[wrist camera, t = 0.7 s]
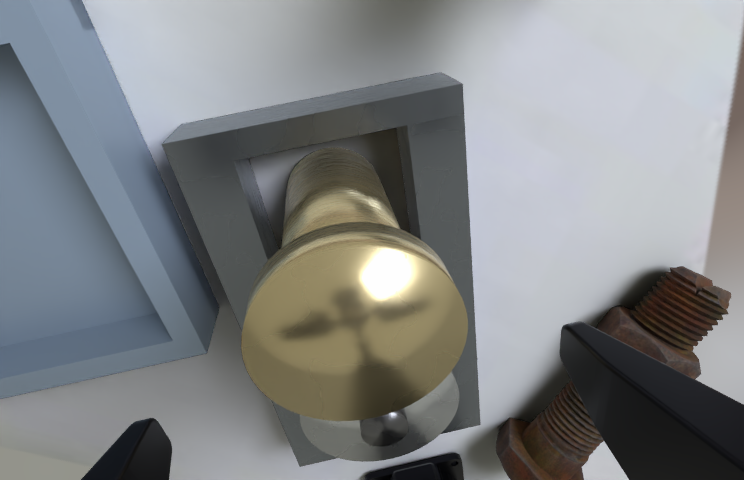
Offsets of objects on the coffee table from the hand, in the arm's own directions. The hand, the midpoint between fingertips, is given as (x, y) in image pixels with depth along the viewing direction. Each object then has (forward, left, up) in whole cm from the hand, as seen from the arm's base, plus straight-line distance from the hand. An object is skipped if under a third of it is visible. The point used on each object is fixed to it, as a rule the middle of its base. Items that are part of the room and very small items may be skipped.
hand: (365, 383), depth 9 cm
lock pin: (0, 0, -10) cm, 10 cm away
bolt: (-14, -13, -11) cm, 22 cm away
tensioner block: (-5, 0, -10) cm, 11 cm away
